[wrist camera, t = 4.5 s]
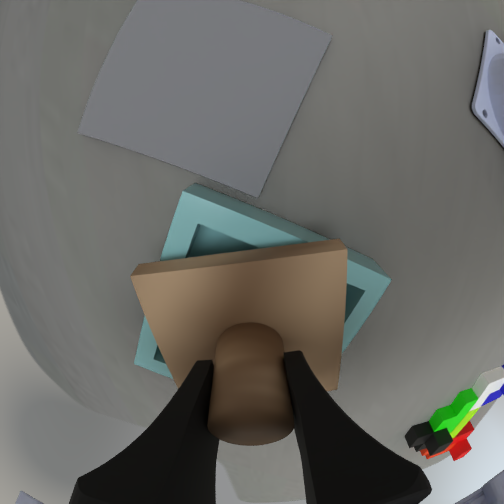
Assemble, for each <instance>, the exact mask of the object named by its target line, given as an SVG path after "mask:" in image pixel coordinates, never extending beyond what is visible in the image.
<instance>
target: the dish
mask: <svg viewBox="0 0 504 504" xmlns="http://www.w3.org/2000/svg"><path fill="white" fill-rule="evenodd" d="M324 240H330V239H328V238H326V237H324V236H322V235H319V234H317V233H315V232H313V231H310V230H308V229H306V228H304V227H301V226H299V225H297V224H294V223H292V222H290V221H287V220H285V219H283V218H281V217H278V216H276V215H273V214H271V213H269V212H266V211H264V210H262V209H259V208H257V207H254V206H252V205H250V204H247V203H245V202H242V201H240V200H237V199H235V198H232V197H230V196H227V195H225V194H222V193H220V192H217V191H215V190H212V189H210V188H207V187H205V186H202V185H199V184H197V183H194V184H192V185H191V186H189V187H188V188H187V189H185V190H184V191H183V192H182V195H181V198H180V200H179V203H178V206H177V209H176V212H175V215H174V218H173V221H172V224H171V227H170V230H169V233H168V236H167V239H166V242H165V246H164V249H163V252H162V255H161V259H160V261H167V260H174V259H182V258H190V257H198V256H206V255H213V254H221V253H229V252H237V251H245V250H253V249H261V248H269V247H276V246H284V245H292V244H300V243H308V242H316V241H324ZM345 247H346V246H345ZM346 248H347V286H346V305H345V320H344V333H343V344H342V353H343V351H344V350H345V349H346V347H347V346H348V345H349V343H350V342H351V341H352V339H353V338H354V336H355V335H356V334H357V332H358V331H359V329H360V328H361V326H362V325H363V324H364V322H365V321H366V319H367V318H368V316H369V315H370V313H371V312H372V310H373V309H374V307H375V306H376V304H377V302H378V301H379V299H380V298H381V296H382V295H383V293H384V291H385V290H386V288H387V287H388V285H389V283H390V282H391V280H392V279H391V278H390V277H389V276H388V275H387V274H386V273H385V272H384V271H383V270H382V269H381V268H380V266H379V265H378V264H377V263H376V262H375V261H374V260H373V259H371V258H369V257H367V256H365V255H363V254H361V253H359V252H356V251H354V250H352V249H350V248H348V247H346ZM134 364H136V365H138V366H141V367H143V368H146V369H148V370H151V371H153V372H156V373H159V374H161V375H164V376H167V377H169V378H172V379H173V377H172V375H171V373H170V371H169V369H168V367H167V365H166V362H165V360H164V358H163V356H162V354H161V352H160V349H159V347H158V345H157V343H156V340H155V338H154V336H153V333H152V331H151V329H150V326H149V324H148V322H147V319H146V317H144V321H143V325H142V329H141V334H140V338H139V343H138V347H137V352H136V356H135V361H134Z"/></svg>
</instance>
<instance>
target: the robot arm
mask: <svg viewBox="0 0 504 504" xmlns="http://www.w3.org/2000/svg"><path fill="white" fill-rule="evenodd" d="M472 110H473V113H474V114H475V115H476V116H477V118H478V119H479V120H480V121H481V122H482V123H483V124H484V125H485V126H486V127H487V128H488V129H489V131H490V132H491V133H492V134H493V135H494V136H495V138H496V139H497V140H498V141H499V142H500V144H501V145H502V146H503V147H504V43H503V42H502V41H501V40H500V39H499V38H498V36H497V35H496V34H495V33H494V32H493V31H492V30H488V31H486V35H485V43H484V50H483V56H482V61H481V67H480V72H479V77H478V81H477V86H476V90H475V94H474V98H473V102H472ZM283 353H284V362H285V369H286V376H287V382H288V386H289V391H290V396H291V402H292V409H293V416H294V424H295V425H294V429H295V433H296V438H297V442H298V446H299V450H300V455H301V460H302V468H303V476H304V485H305V493H306V503H307V504H419V503H420V502H421V501H422V500H423V499H425V498H426V497H427V496H428V495H429V494H430V493H431V491H432V488H431V485H430V483H429V480H428V479H427V477H426V475H425V474H424V472H423V471H422V469H421V468H420V467H419V466H418V465H416V464H414V463H412V462H410V461H408V460H406V459H404V458H403V457H401V456H399V455H397V454H396V453H394V452H393V451H391V450H390V449H388V448H386V447H385V446H383V445H382V444H381V443H379V442H378V441H377V440H375V439H374V438H373V437H372V436H370V435H369V434H368V433H366V432H365V431H364V430H363V429H362V428H360V427H359V426H358V425H357V424H356V423H355V422H354V421H353V420H352V419H351V418H350V417H349V416H348V415H347V414H346V413H345V412H344V411H343V410H342V409H341V408H340V407H339V406H338V405H337V403H336V402H335V401H334V400H333V399H332V398H331V396H330V395H329V394H328V393H327V391H326V390H325V389H324V387H323V386H322V385H321V383H320V382H319V380H318V379H317V378H316V376H315V375H314V373H313V371H312V370H311V368H310V366H309V365H308V363H307V361H306V359H305V357H304V355H303V352H302V351H300V350H297V351H290V352H283ZM213 371H214V364H213V361H212V360H197V361H196V362H195V364H194V365H193V367H192V369H191V370H190V372H189V373H188V375H187V377H186V378H185V380H184V381H183V383H182V384H181V386H180V387H179V389H178V390H177V392H176V393H175V395H174V396H173V397H172V399H171V400H170V402H169V403H168V404H167V406H166V407H165V408H164V409H163V411H162V412H161V413H160V414H159V416H158V417H157V418H156V419H155V420H154V421H153V423H152V424H151V425H150V426H149V427H148V428H147V429H146V430H145V431H144V432H143V433H142V434H141V435H140V436H139V437H138V438H137V439H136V440H135V441H133V442H132V443H131V444H130V445H129V446H128V447H127V448H125V449H124V450H123V451H122V452H120V453H119V454H117V455H116V456H115V457H113V458H112V459H110V460H109V461H108V462H106V463H105V464H103V465H101V466H100V467H98V468H96V469H94V470H92V471H91V472H89V473H87V474H85V475H83V476H81V477H79V478H78V479H77V482H76V484H75V487H74V490H73V493H72V496H71V499H70V502H69V504H216V501H215V476H216V475H215V473H216V459H217V452H218V445H219V439H218V438H216V437H215V436H214V435H212V434H211V433H210V431H209V430H208V426H207V424H208V415H209V406H210V397H211V388H212V379H213ZM16 504H43V503H42V502H40V501H38V500H37V499H35V498H33V497H31V496H30V495H28V494H26V493H25V492H23V491H20V494H19V496H18V498H17V501H16ZM455 504H504V470H503V471H502V472H500V473H499V474H497V475H496V476H495V477H494V478H492V479H491V480H489V481H488V482H487V483H486V484H484V485H483V487H481V488H480V489H478V490H477V491H475V492H474V493H472V494H470V495H469V496H467V497H465V498H464V499H462V500H460V501H458V502H457V503H455Z"/></svg>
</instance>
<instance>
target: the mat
mask: <svg viewBox="0 0 504 504" xmlns="http://www.w3.org/2000/svg"><path fill="white" fill-rule="evenodd" d="M332 36H333V35H331V34H328V33H326V32H324V31H322V30H320V29H318V28H316V27H313V26H311V25H309V24H306V23H304V22H302V21H299V20H297V19H294V18H292V17H289V16H287V15H284V14H281V13H278V12H276V11H273V10H270V9H267V8H264V7H261V6H258V5H254V4H251V3H248V2H244V1H240V0H137V2H136V3H135V5H134V6H133V8H132V10H131V11H130V13H129V15H128V16H127V18H126V20H125V22H124V23H123V25H122V27H121V29H120V31H119V32H118V34H117V36H116V38H115V40H114V42H113V44H112V46H111V48H110V50H109V52H108V54H107V56H106V58H105V61H104V63H103V65H102V67H101V70H100V72H99V74H98V77H97V79H96V81H95V84H94V86H93V89H92V91H91V94H90V97H89V99H88V102H87V105H86V108H85V111H84V114H83V117H82V120H81V123H80V126H79V129H78V132H77V133H80V134H83V135H86V136H89V137H93V138H96V139H99V140H102V141H105V142H108V143H111V144H114V145H118V146H121V147H124V148H127V149H130V150H132V151H135V152H138V153H141V154H144V155H147V156H150V157H153V158H156V159H158V160H161V161H164V162H167V163H169V164H172V165H175V166H178V167H180V168H183V169H186V170H188V171H191V172H194V173H196V174H199V175H202V176H204V177H207V178H209V179H212V180H214V181H217V182H219V183H222V184H225V185H227V186H230V187H232V188H234V189H237V190H239V191H242V192H244V193H247V194H249V195H252V196H254V197H256V198H258V197H259V195H260V193H261V190H262V188H263V186H264V184H265V182H266V179H267V177H268V175H269V173H270V170H271V168H272V166H273V164H274V161H275V159H276V157H277V155H278V153H279V150H280V148H281V146H282V144H283V141H284V139H285V137H286V135H287V133H288V130H289V128H290V126H291V124H292V122H293V120H294V117H295V115H296V113H297V111H298V109H299V107H300V104H301V102H302V100H303V98H304V96H305V94H306V91H307V89H308V87H309V85H310V83H311V81H312V79H313V76H314V74H315V72H316V70H317V68H318V66H319V64H320V62H321V60H322V57H323V55H324V53H325V51H326V49H327V47H328V45H329V43H330V41H331V39H332Z"/></svg>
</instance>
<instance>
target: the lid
mask: <svg viewBox="0 0 504 504" xmlns="http://www.w3.org/2000/svg"><path fill="white" fill-rule="evenodd" d="M130 277H131V280H132V282H133V285H134V288H135V291H136V293H137V296H138V299H139V301H140V304H141V307H142V309H143V312H144V314H145V317H146V319H147V322H148V324H149V326H150V329H151V331H152V333H153V336H154V338H155V340H156V343H157V345H158V347H159V349H160V352H161V354H162V356H163V358H164V360H165V362H166V365H167V367H168V369H169V371H170V373H171V375H172V377H173V379H174V381H175V383H176V385H177V387H178V389H179V387H180V386H181V384H182V383H183V381H184V380H185V378H186V377H187V375H188V373H189V372H190V370H191V369H192V367H193V365H194V364H195V362H196V361H197V360H212V361H213V364H214V371H213V379H212V388H211V397H210V406H209V415H208V424H207V426H208V430H209V431H210V433H211V434H212V435H214V436H215V437H216V438H218V439H220V440H222V441H225V442H228V443H232V444H237V445H246V446H254V445H264V444H269V443H273V442H276V441H279V440H281V439H283V438H285V437H286V436H288V435H289V434H290V433H291V432H292V431H293V429H294V425H295V424H294V416H293V409H292V402H291V396H290V391H289V386H288V382H287V376H286V369H285V362H284V353H283V352H290V351H297V350H300V351H302V352H303V355H304V357H305V359H306V361H307V363H308V365H309V366H310V368H311V370H312V371H313V373H314V375H315V376H316V378H317V379H318V380H319V382H320V383H321V385H322V386H323V387H324V389H325V390H326V391H331V390H336V389H337V387H338V379H339V371H340V363H341V354H342V344H343V333H344V320H345V305H346V286H347V248H346V247H345V245H344V244H343V243H342V241H341V240H340V239H332V240H324V241H316V242H308V243H300V244H292V245H284V246H276V247H269V248H261V249H253V250H245V251H237V252H229V253H221V254H213V255H206V256H198V257H190V258H182V259H174V260H167V261H159V262H151V263H143V264H138V266H137V267H136V269H135V270H134V271H133V273H132V274H131V276H130Z"/></svg>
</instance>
